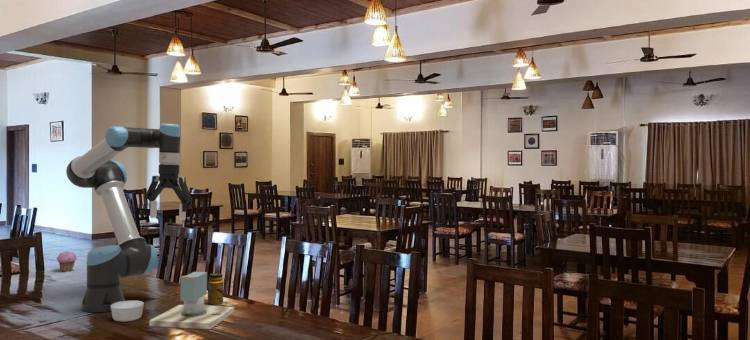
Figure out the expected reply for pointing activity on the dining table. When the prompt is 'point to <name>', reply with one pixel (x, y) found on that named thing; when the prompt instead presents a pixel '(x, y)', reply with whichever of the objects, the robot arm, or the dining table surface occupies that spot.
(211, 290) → the condiment
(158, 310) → the dining table surface
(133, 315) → the ramekin
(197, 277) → the teal block on base
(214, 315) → the post base
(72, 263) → the cupcake
